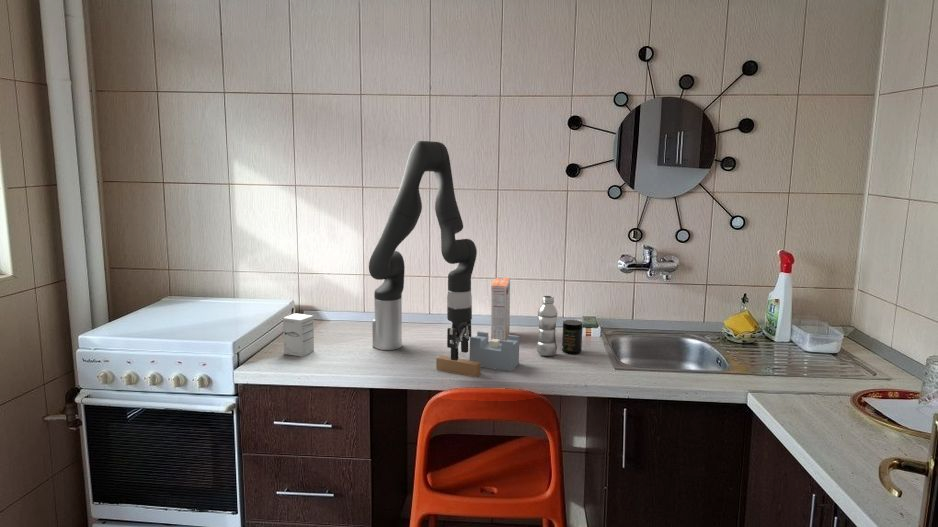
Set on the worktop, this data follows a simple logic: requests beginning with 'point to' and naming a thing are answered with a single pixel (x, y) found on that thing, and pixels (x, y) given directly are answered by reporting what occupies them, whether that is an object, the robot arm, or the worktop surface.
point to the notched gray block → (495, 351)
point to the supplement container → (572, 337)
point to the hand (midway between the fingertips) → (459, 356)
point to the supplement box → (298, 334)
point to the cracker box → (500, 309)
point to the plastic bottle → (547, 327)
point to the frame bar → (458, 366)
